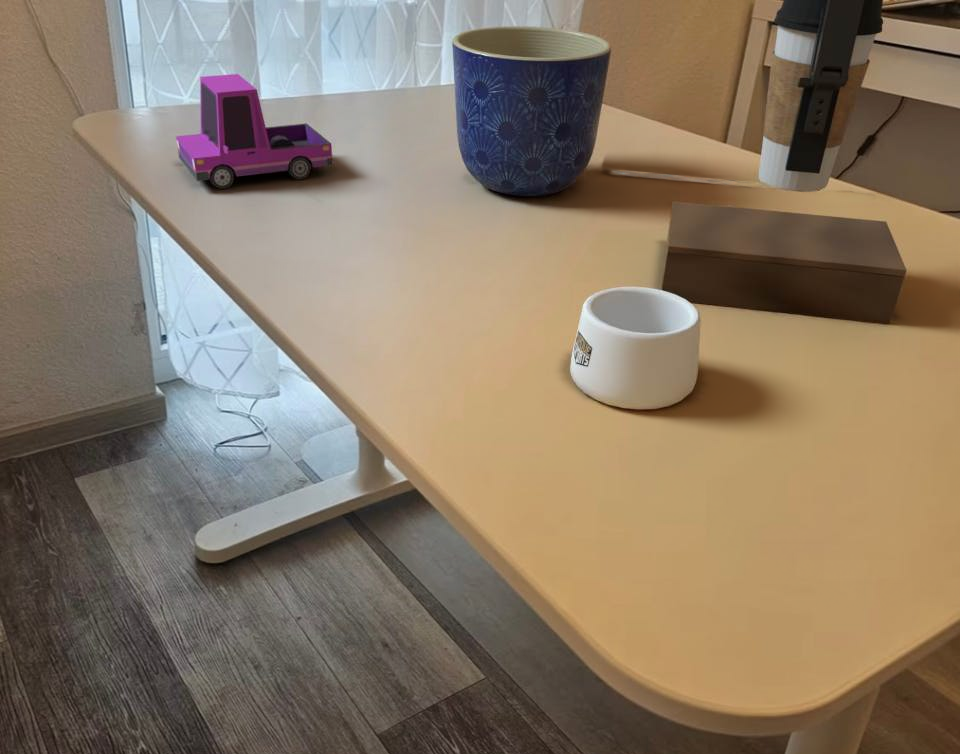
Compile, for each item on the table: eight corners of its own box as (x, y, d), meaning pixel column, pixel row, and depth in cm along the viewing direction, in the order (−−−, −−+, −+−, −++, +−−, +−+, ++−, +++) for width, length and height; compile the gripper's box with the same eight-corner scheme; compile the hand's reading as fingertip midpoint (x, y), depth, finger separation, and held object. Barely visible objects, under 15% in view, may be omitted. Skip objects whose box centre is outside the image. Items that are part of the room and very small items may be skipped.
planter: (621, 202, 106) (639, 55, 97) (478, 216, 102) (483, 62, 92) (562, 157, 119) (572, 23, 110) (432, 167, 114) (432, 28, 105)
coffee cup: (735, 187, 81) (773, -10, 73) (752, 161, 88) (788, -23, 79) (836, 202, 79) (888, 1, 70) (846, 174, 85) (895, -14, 76)
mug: (716, 406, 71) (731, 332, 67) (595, 420, 69) (604, 345, 65) (651, 334, 80) (662, 266, 76) (543, 345, 78) (548, 275, 74)
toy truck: (179, 167, 112) (164, 75, 106) (306, 153, 117) (299, 65, 111) (201, 195, 104) (187, 99, 98) (336, 179, 110) (330, 87, 104)
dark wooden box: (871, 271, 93) (886, 221, 90) (889, 324, 83) (907, 270, 80) (665, 250, 95) (672, 201, 92) (660, 299, 86) (668, 245, 83)
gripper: (807, -172, 77) (750, 121, 91) (832, -167, 61) (758, 189, 75) (904, -168, 76) (831, 128, 90) (955, -162, 60) (857, 198, 73)
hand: (798, 156), depth 82 cm, fingers closed on coffee cup, 8 cm apart
